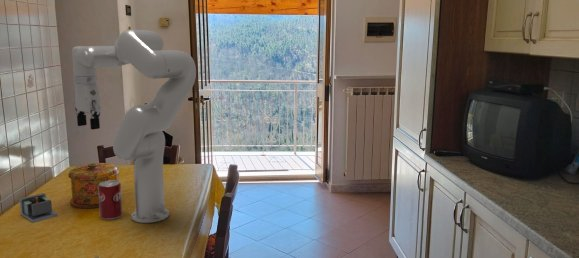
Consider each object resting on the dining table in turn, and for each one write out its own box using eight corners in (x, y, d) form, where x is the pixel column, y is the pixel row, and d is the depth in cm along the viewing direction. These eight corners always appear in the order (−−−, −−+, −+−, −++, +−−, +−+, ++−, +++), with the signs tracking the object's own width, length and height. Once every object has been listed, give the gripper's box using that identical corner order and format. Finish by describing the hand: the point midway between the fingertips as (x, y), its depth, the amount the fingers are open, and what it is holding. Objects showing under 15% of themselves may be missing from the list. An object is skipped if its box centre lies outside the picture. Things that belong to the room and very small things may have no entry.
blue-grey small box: (52, 211, 158) (51, 198, 157) (33, 216, 153) (32, 202, 152) (45, 208, 161) (44, 195, 160) (27, 212, 156) (26, 199, 155)
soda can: (98, 221, 154) (96, 187, 151) (101, 213, 160) (99, 180, 158) (121, 219, 155) (119, 185, 153) (123, 211, 162) (121, 179, 160)
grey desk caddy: (57, 215, 158) (56, 199, 156) (32, 222, 151) (31, 205, 150) (44, 208, 164) (43, 192, 163) (20, 215, 158) (19, 198, 157)
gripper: (107, 81, 162) (110, 129, 166) (84, 78, 173) (87, 123, 176) (87, 83, 157) (90, 131, 160) (64, 79, 167) (67, 125, 171)
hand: (88, 127), depth 168 cm, fingers open, 9 cm apart
